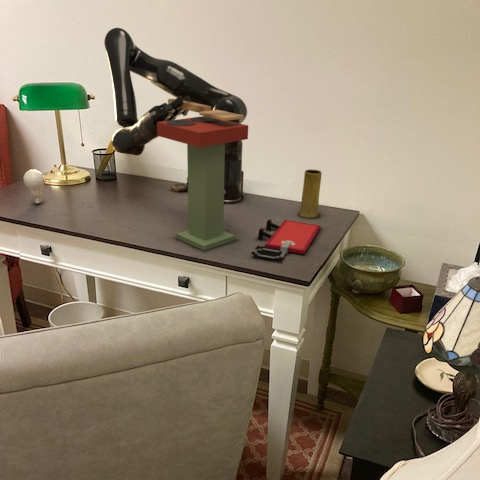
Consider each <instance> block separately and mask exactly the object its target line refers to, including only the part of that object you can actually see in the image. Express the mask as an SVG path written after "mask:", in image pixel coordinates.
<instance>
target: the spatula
mask: <svg viewBox="0 0 480 480" xmlns="http://www.w3.org/2000/svg"><path fill="white" fill-rule="evenodd" d="M175 99H176V98H168V99H167V104H168V103H169V102H173V101H174V100H175ZM183 102H184V103H183V105H182V106H180V107H179V108H180V109H185V110H189V111H188V112H194V113H197V114H199V116H206V117H210V118H215V119H219V120H224V121H228V120H235V119H243V115H240V114H235V113H230V112H226V111H221V110H211V106H207V105H202V104H197V103H193V102H188V101H183Z"/></svg>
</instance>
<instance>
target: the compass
mask: <svg viewBox="0 0 480 480" xmlns="http://www.w3.org/2000/svg"><path fill="white" fill-rule="evenodd" d="M171 190H172V191H173V192H179V193H181V192H183V193H184V192H186V191H187V192H188V176H187V177H186V184H185V183H176V184H173V185H172V186H171Z"/></svg>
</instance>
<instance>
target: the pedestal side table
mask: <svg viewBox="0 0 480 480" xmlns="http://www.w3.org/2000/svg"><path fill="white" fill-rule="evenodd" d="M157 136H159V138H164V139H168V140H171V141H174V142H178V143H182V144H186V151H187V153H186V154H187V156H186V157H187V159H186V160H187V177H188V190H187V211H188V212H187V213H188V217H187V218H188V229H187V230H183V231H180V232H177V233H176V238H175V239H177V240H179V241H181V242H184V243H185V244H188V245H191V246H192V247H194V248H197V249H199V250H201V251H208V250H211V249H213V248H217V247H219V246H222V245H225V244H228V243H231V242H234V241H236V234H233V233H230V232H228V231H225V230H224V214H225V213H224V212H225V211H224V207H225V203H224V165H225V143H229V142H234V141H240V140H242V141H245V140H248V139H249V125H248V124H244V123H241V124H240V123H235V122H230V121H224V120H219V119H215V118H210V117H206V116H202V115H200V116H195V117H187V118H186V117H185V118H178V119H175V120H170V121H162V122H157Z"/></svg>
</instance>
